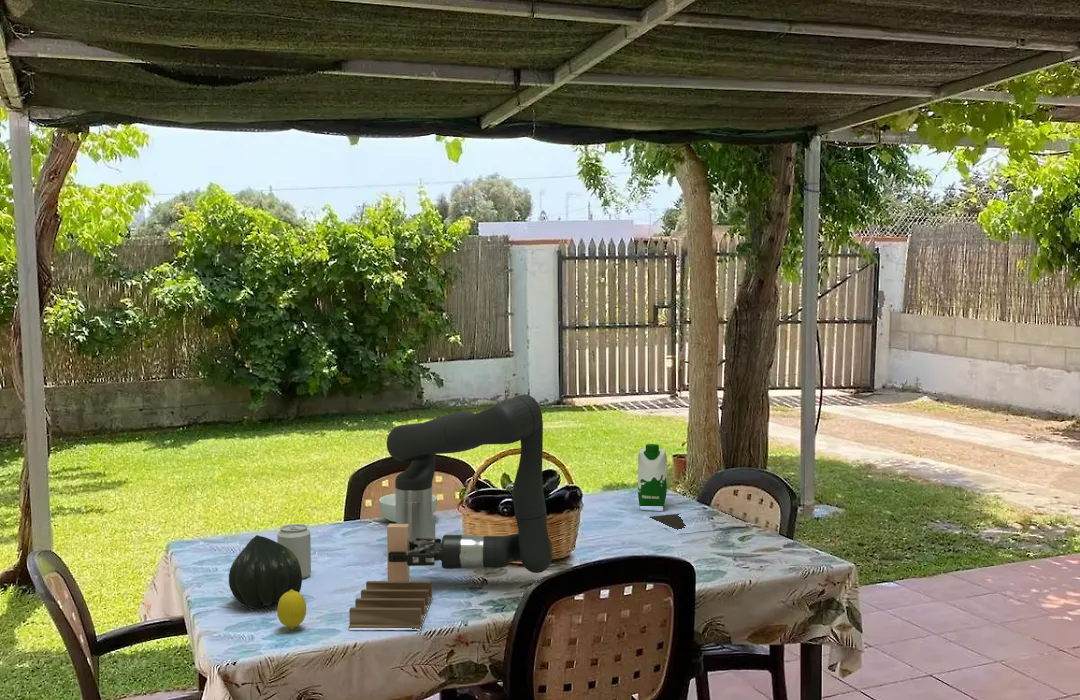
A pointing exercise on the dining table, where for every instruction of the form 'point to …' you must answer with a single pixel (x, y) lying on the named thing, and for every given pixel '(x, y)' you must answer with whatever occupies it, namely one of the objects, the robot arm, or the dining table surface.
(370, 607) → the drying rack
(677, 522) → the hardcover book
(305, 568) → the can
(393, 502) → the cereal bowl
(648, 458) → the milk carton
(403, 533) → the clay bar
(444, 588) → the dining table surface
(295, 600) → the lemon
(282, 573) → the squash
